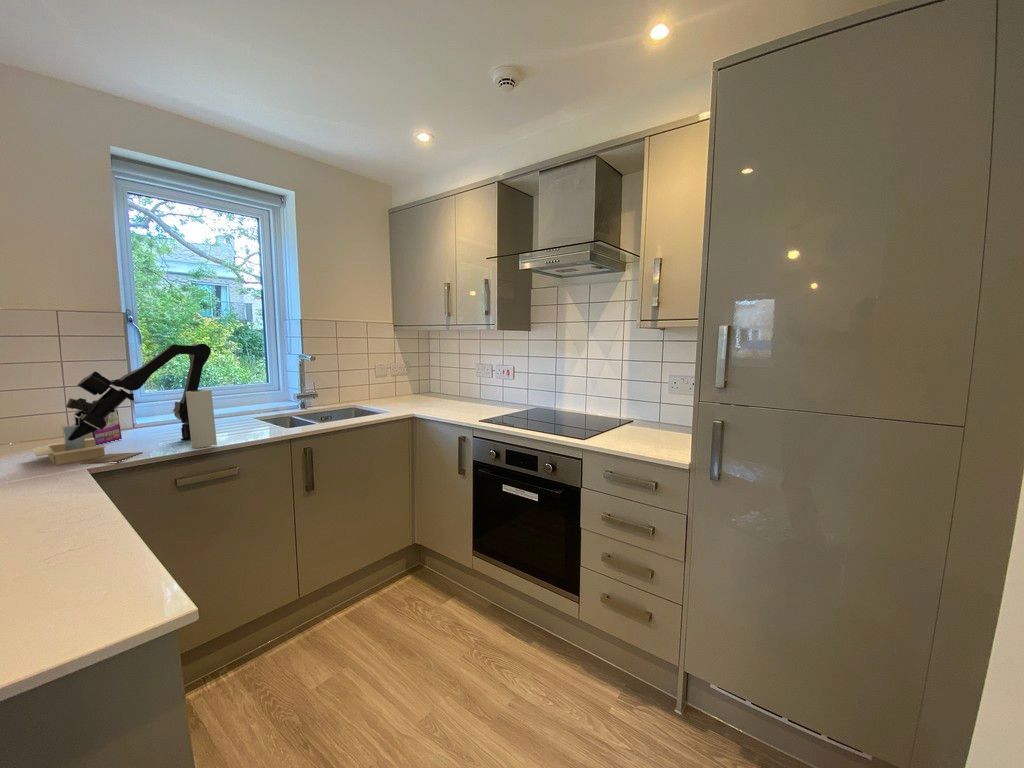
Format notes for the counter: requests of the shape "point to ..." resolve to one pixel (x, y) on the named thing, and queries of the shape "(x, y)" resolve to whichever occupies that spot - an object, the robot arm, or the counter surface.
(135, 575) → the counter surface
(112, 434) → the candy bar box
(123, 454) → the board
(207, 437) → the tall white block
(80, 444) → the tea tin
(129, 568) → the counter surface
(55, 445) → the carton
